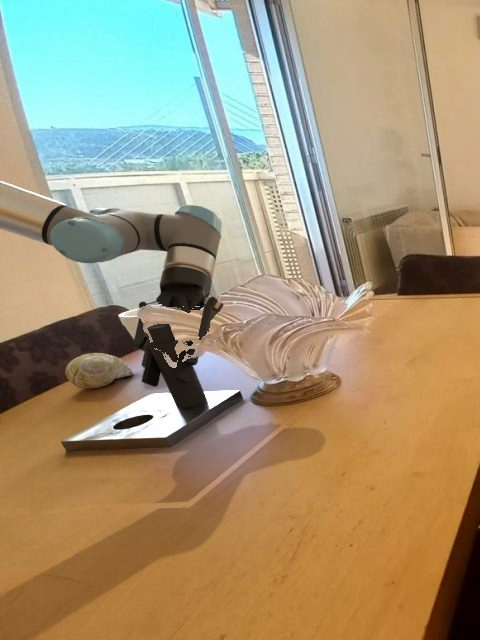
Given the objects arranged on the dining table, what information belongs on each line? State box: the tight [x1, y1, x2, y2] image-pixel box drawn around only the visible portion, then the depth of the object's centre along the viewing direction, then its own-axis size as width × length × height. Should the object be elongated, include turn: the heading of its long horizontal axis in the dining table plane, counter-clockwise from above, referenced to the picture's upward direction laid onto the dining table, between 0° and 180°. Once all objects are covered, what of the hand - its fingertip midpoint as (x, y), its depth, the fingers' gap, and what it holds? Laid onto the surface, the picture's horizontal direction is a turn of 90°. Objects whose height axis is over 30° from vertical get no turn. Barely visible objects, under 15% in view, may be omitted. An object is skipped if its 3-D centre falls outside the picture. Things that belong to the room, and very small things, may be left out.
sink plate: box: [60, 389, 244, 452], centre depth 90 cm, size 18×18×2 cm
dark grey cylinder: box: [147, 324, 207, 408], centre depth 90 cm, size 5×5×16 cm
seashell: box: [64, 352, 134, 390], centre depth 107 cm, size 10×10×10 cm
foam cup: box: [118, 308, 144, 355], centre depth 118 cm, size 10×9×13 cm
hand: (166, 382), depth 88 cm, fingers closed on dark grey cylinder, 4 cm apart
